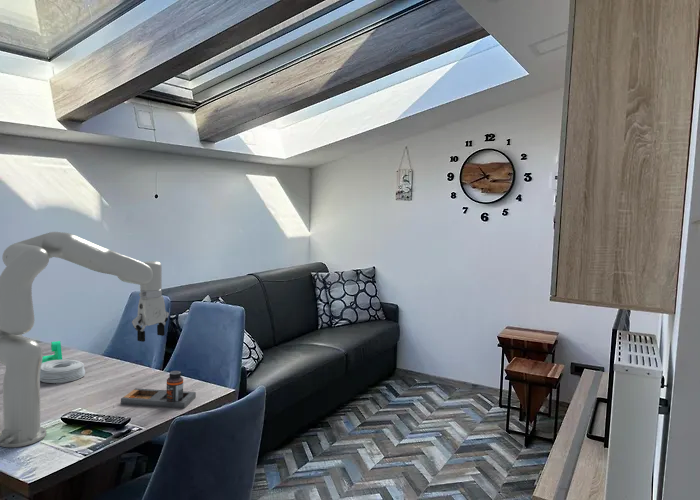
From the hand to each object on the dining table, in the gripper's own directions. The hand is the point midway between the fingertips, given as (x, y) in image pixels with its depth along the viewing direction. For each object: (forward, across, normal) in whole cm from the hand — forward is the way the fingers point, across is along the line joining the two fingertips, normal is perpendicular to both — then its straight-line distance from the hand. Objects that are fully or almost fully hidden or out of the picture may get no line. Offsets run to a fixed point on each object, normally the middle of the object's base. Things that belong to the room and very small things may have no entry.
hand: (151, 338), depth 190 cm
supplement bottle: (+23, 0, -11) cm, 26 cm away
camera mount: (+23, +6, +68) cm, 72 cm away
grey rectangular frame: (+23, -2, -6) cm, 24 cm away
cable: (+23, -2, +48) cm, 53 cm away
